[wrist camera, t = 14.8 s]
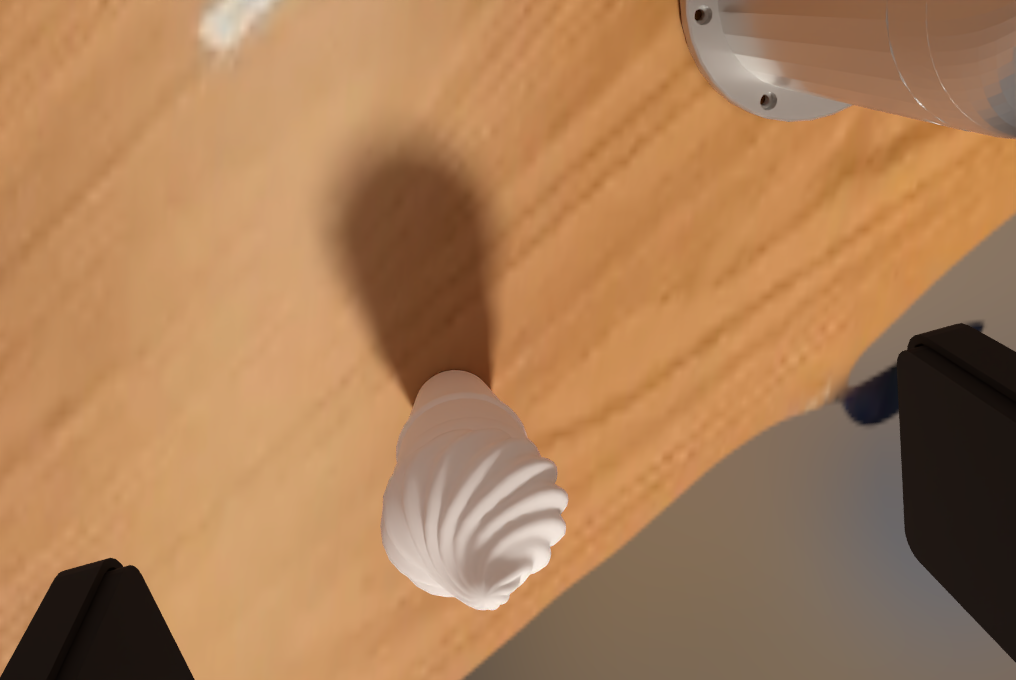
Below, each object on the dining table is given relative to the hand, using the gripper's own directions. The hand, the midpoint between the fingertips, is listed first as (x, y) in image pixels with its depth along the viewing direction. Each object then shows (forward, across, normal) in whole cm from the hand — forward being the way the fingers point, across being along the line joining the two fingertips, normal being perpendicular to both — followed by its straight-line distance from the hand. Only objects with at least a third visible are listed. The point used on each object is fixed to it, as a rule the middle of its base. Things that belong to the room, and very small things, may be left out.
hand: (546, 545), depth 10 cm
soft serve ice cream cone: (+34, +2, +15) cm, 38 cm away
